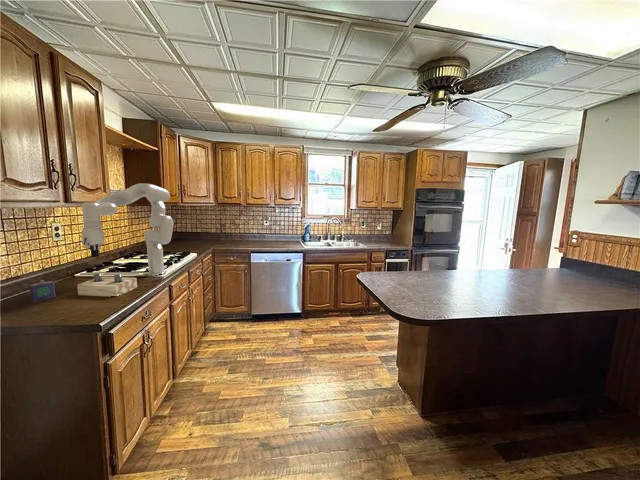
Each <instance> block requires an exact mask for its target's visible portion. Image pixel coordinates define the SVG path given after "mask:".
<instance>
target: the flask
mask: <svg viewBox="0 0 640 480" xmlns="http://www.w3.org/2000/svg"><path fill="white" fill-rule="evenodd" d="M29 291H30V299H31V303H38V302H42V301H47V300H52V299H54V298H56V290H55V283H54V281H53V280H52V281H45V280H44V279H41V280H40V282H36V283H32V284H30V285H29Z"/></svg>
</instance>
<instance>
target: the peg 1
mask: <svg viewBox="0 0 640 480" xmlns="http://www.w3.org/2000/svg"><path fill="white" fill-rule="evenodd" d="M102 274H103V273H98V272H97V273H93V274H92V275H93V279H94V282H100V281H102V277H103V276H102Z"/></svg>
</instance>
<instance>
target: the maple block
mask: <svg viewBox="0 0 640 480" xmlns="http://www.w3.org/2000/svg"><path fill="white" fill-rule="evenodd" d="M136 288H138V282H137V277H125V276H124V277H123V276H122V282H120V283H114V276H102V281H100V282H94V278H93V279H90V280H87V281H84V282H82V283H79V284H77V294H78V296H90V297H92V296H93V297H111V296H118V297H119V295H120V296H122V295H124V294H126V293H128V292H130V291H132V290H134V289H136Z"/></svg>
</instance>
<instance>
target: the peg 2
mask: <svg viewBox="0 0 640 480" xmlns="http://www.w3.org/2000/svg"><path fill="white" fill-rule="evenodd" d="M113 277H114V283H120V282H122V277H123V275H122V274H121V273H116V274H114V275H113Z"/></svg>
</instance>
